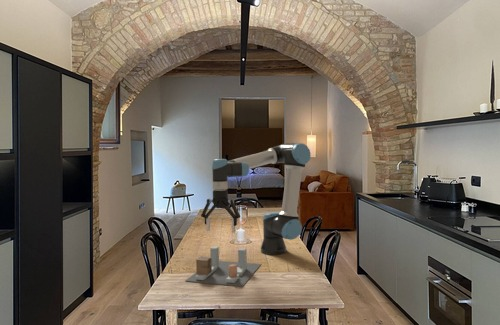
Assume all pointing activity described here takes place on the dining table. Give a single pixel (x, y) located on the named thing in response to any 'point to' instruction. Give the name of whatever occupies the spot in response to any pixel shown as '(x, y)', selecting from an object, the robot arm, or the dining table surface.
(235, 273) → the peach egg shape
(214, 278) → the mat
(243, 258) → the broken strip
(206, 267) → the block
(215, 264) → the grey stepped bracket
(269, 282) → the dining table surface
